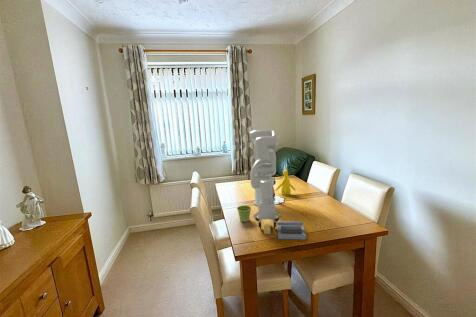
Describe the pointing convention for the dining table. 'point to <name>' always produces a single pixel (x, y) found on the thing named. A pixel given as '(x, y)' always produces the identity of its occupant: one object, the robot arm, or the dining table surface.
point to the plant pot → (244, 213)
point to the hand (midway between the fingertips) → (267, 228)
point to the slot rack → (290, 236)
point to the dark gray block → (291, 230)
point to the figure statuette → (285, 185)
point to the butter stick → (267, 226)
